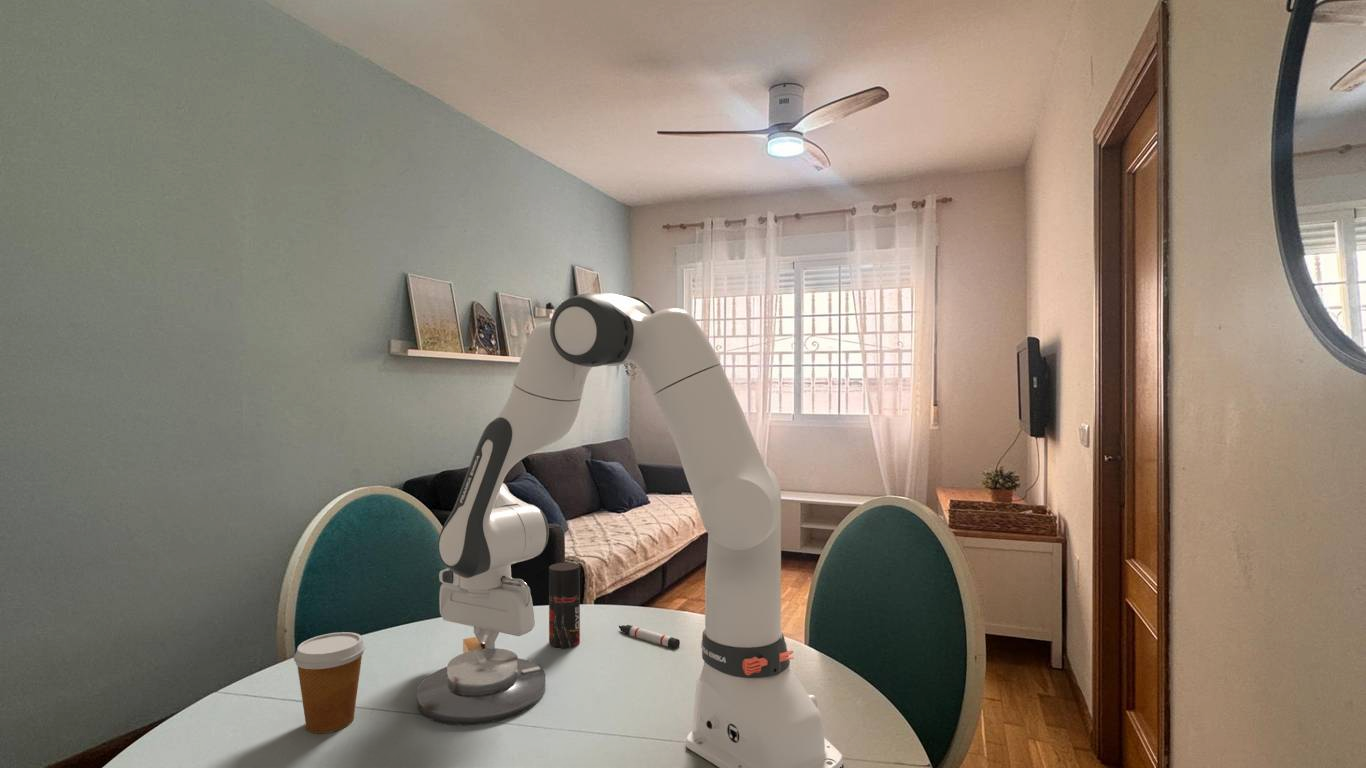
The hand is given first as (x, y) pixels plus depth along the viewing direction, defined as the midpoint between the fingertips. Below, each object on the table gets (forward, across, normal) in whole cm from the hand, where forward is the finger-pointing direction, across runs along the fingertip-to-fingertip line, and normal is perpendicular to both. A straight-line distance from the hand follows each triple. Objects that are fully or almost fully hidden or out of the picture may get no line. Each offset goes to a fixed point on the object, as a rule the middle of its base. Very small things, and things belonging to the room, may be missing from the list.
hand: (486, 652), depth 118 cm
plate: (+3, -6, +7) cm, 10 cm away
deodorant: (+4, -4, -16) cm, 17 cm away
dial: (+1, -3, +5) cm, 6 cm away
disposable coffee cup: (+3, +6, +25) cm, 26 cm away
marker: (+4, -16, -26) cm, 31 cm away
